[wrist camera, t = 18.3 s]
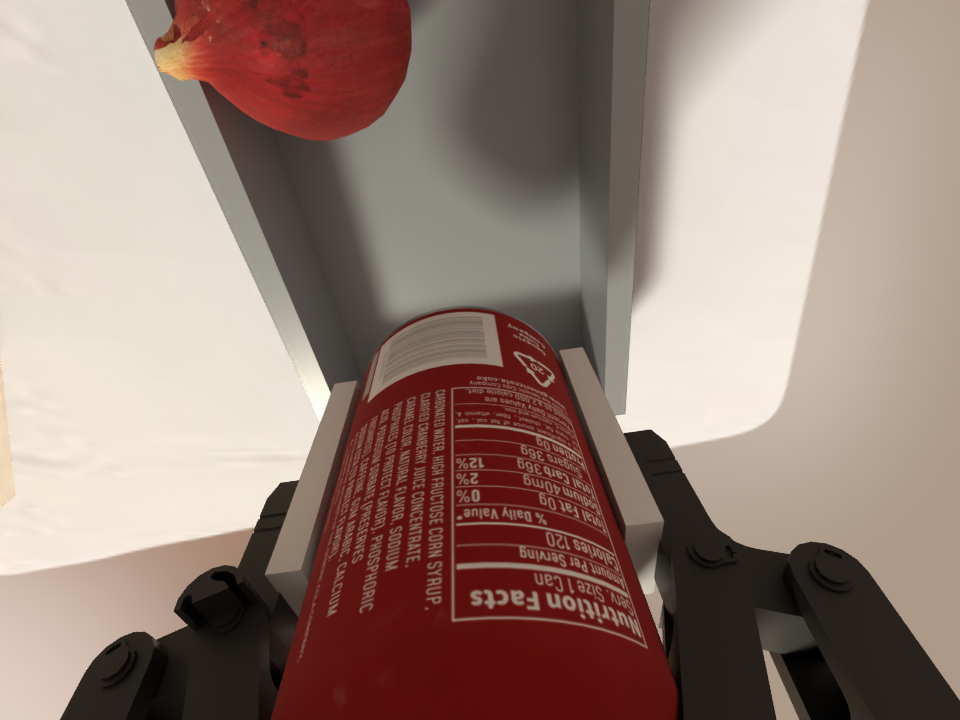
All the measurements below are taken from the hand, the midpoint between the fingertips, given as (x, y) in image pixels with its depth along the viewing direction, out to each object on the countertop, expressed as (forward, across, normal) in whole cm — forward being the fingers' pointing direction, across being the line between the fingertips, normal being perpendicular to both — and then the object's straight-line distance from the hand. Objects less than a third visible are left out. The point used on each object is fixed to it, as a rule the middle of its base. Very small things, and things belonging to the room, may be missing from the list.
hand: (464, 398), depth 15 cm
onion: (+7, 0, +11) cm, 13 cm away
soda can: (+1, 0, 0) cm, 1 cm away
